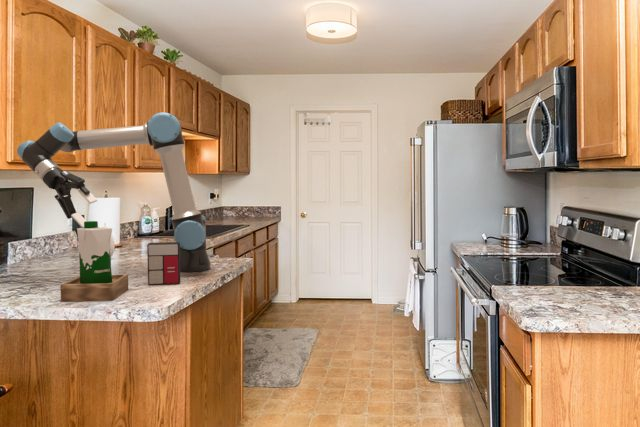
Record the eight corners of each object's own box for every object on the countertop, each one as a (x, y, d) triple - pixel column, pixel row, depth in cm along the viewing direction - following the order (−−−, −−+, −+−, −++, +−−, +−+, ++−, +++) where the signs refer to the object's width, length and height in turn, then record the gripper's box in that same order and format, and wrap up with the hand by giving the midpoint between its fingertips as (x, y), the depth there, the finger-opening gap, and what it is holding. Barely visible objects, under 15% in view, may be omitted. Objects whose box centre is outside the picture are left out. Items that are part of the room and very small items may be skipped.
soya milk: (101, 279, 157) (99, 220, 156) (116, 282, 152) (115, 221, 151) (75, 283, 150) (73, 222, 149) (91, 287, 145) (89, 223, 144)
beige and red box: (147, 285, 166) (146, 244, 165) (149, 283, 170) (148, 242, 169) (179, 284, 168) (178, 243, 167) (180, 282, 172) (179, 241, 172)
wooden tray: (128, 289, 160) (128, 274, 160) (113, 300, 145) (112, 283, 144) (81, 290, 158) (80, 275, 158) (60, 301, 143) (60, 284, 143)
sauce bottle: (93, 260, 223) (92, 222, 222) (107, 257, 230) (106, 221, 229) (104, 261, 219) (103, 223, 218) (118, 259, 226) (117, 222, 225)
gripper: (37, 200, 174) (74, 239, 171) (47, 153, 160) (87, 194, 157) (55, 194, 180) (91, 231, 177) (67, 147, 166) (106, 187, 163)
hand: (89, 214), depth 167 cm, fingers open, 13 cm apart
